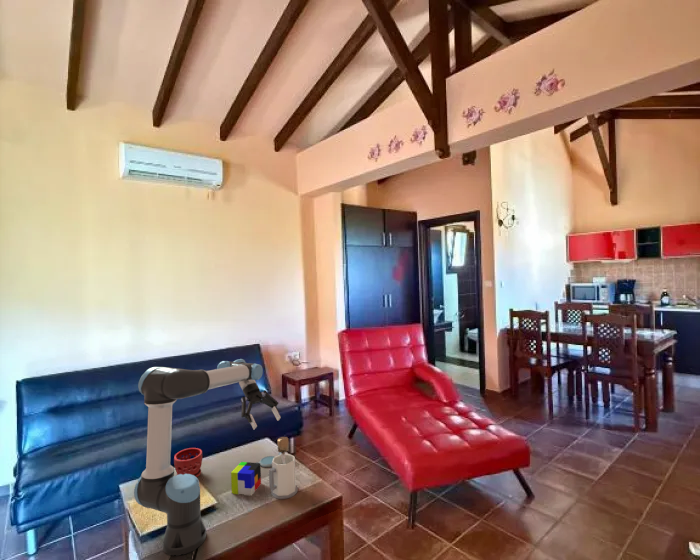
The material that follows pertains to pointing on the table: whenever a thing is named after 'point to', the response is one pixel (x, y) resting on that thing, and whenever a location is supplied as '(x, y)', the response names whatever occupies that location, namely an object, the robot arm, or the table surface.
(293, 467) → the jug
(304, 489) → the table surface
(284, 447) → the plunger
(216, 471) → the table surface
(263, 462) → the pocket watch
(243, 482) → the puzzle toy
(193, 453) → the plant pot
